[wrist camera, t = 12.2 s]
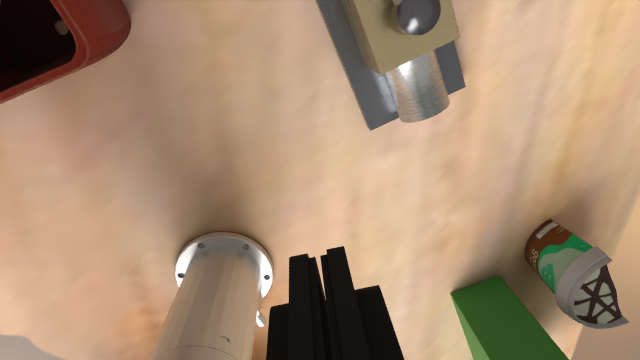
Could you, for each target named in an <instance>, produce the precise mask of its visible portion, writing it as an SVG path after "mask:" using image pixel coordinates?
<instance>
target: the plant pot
mask: <svg viewBox="0 0 640 360" xmlns="http://www.w3.org/2000/svg"><path fill="white" fill-rule="evenodd" d="M55 20H63V21H64V22H65V24H66V25H67V27H68V33H67V34H66V35H60V34H58V33H57V32H55V30H54V28H53V22H54V21H55ZM130 29H131V20H130V16H129V14H128V13H127V11H126V9H125V7H124V5H123V3H122V2H121V0H1V3H0V104H1V103H4V102H6V101H8V100H10V99H13V98H15V97H17V96H19V95H22V94H24V93H26V92H29V91H31V90H33V89H35V88H38V87H40V86H42V85H45V84H47V83H49V82H52V81H54V80H56V79H59V78H61V77H63V76H66V75H68V74H70V73H73V72H75V71H77V70H80V69H82V68H84V67H86V66H89V65H91V64H93V63H96V62H98V61H100V60H101V59H103V58H105V57H107V56H108V55H110V54H111V53H113V52H114V51H116V50H117V49H118V48H119V47H120V46H121V45H122V44H123V43H124V41H125V40H126V39H127V37H128V35H129V32H130Z"/></svg>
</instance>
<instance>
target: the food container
mask: <svg viewBox="0 0 640 360" xmlns="http://www.w3.org/2000/svg"><path fill="white" fill-rule="evenodd" d="M525 258H526V260H527V262H528V263H529V264H530V266H531V267H532V268H533V269H534V270H535V271H536V273H537V274H538V275H539V276H540V277H541V279H542V280H543V281H544V282H545V283H546V284H547V286H548V287H549V288H550V289H551V290H552V292H553V293H554V294H555V295H556V301H557V304H558V306H559V308H560V309H561V310H562V311H563V312H564V313H565V314H567V315H568V316H570V317H571V318H572V319H574V320H575V321H577V322H578V323H581V324H583V325H585V326H587V327H591V328H596V329H606V328H613V327H618V326H621V325H623V324H627V323H629V321H628V320H627V319H626V318H624V317H623V316H622V315H621V312H620V310H619V306H618V302H617V293H616V289H615V286H614V284H613V282H612V279H611V277H610V274H609V271H608V267H607V263H609V262H611V261H612V260H611V259H610V258H609V257H607V255H606V254H605V253H604V252H603V251H601V250H600V249H599V248H598V247H597V246H595V247H592V246H591V245H589V244H588V243H586V242H585V241H583V240H582V239H580V238H578V237H577V236H575V235H574V234H572V233H571V232H569V231H568V230H566V229H565V228H563V227H562V226H560V225H559V224H557V223H556V222H554V221H553V220H551V219H549V220H548V221H546V222H544V223H543V224H541V225H540V226H539V227H538V228H537V229H536V230H535V231H534V232H533V233H532V234H531V236H530V237H529V239H528V240H527V243H526V246H525Z"/></svg>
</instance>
